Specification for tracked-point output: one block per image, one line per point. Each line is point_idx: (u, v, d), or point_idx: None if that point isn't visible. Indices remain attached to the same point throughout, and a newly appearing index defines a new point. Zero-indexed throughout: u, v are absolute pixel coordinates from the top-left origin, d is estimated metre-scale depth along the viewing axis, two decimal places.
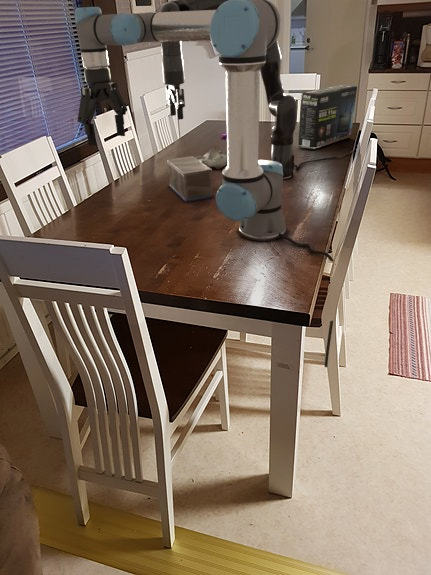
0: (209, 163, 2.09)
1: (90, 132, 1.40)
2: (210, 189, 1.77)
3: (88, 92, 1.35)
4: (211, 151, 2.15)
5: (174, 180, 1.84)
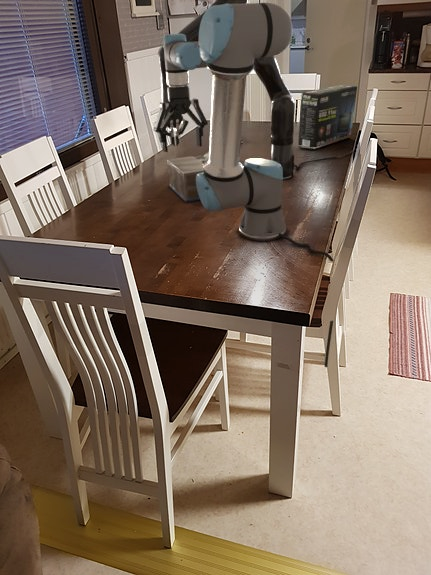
0: None
1: (162, 140, 1.62)
2: None
3: (164, 106, 1.56)
4: None
5: (174, 180, 1.84)
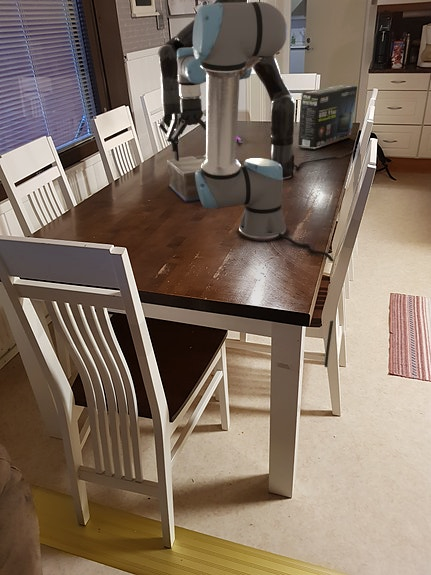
0: None
1: (174, 149, 1.67)
2: None
3: (176, 117, 1.61)
4: None
5: (174, 180, 1.84)
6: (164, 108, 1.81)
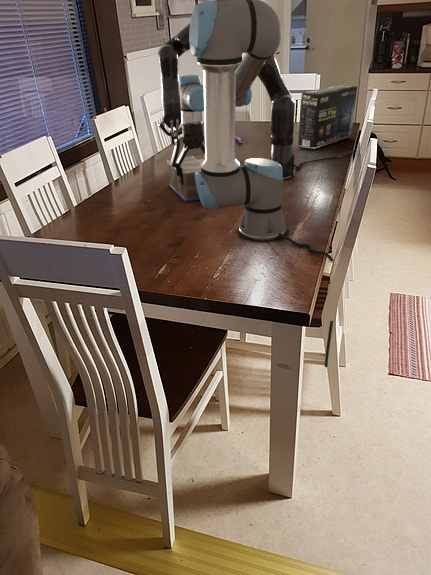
0: None
1: (178, 174, 1.72)
2: None
3: (178, 143, 1.66)
4: None
5: (174, 180, 1.84)
6: (164, 108, 1.81)
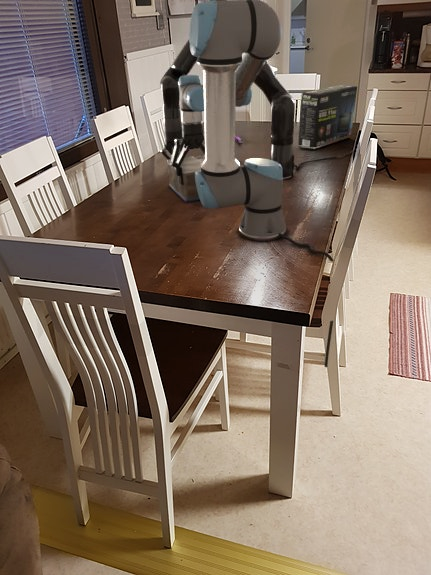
0: None
1: (178, 174, 1.72)
2: None
3: (178, 143, 1.66)
4: None
5: (174, 180, 1.84)
6: (166, 135, 1.87)
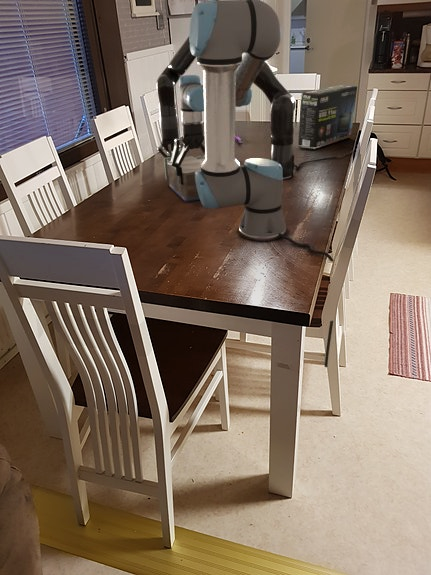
0: None
1: (178, 174, 1.72)
2: None
3: (178, 143, 1.66)
4: None
5: (174, 180, 1.84)
6: (162, 133, 1.91)
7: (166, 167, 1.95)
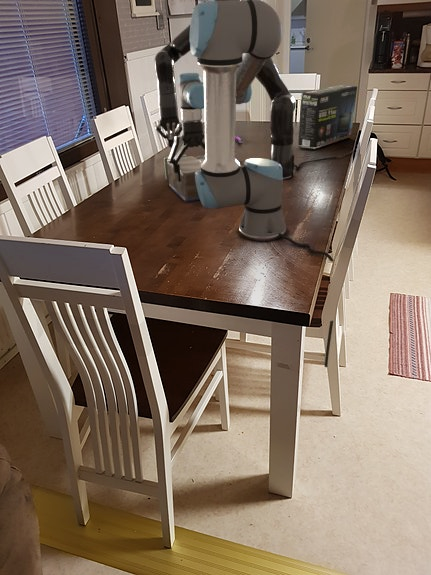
0: None
1: (176, 170, 1.71)
2: None
3: (178, 140, 1.65)
4: None
5: (174, 180, 1.84)
6: (161, 112, 1.87)
7: (166, 167, 1.95)
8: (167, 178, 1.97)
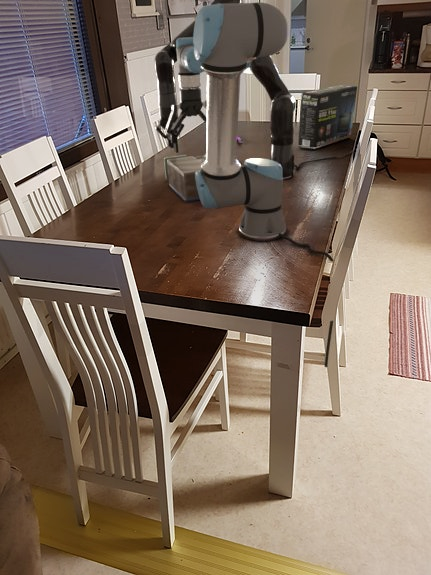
0: None
1: (173, 141, 1.65)
2: None
3: (175, 108, 1.60)
4: None
5: (174, 180, 1.84)
6: (161, 112, 1.87)
7: (166, 167, 1.95)
8: (167, 178, 1.97)
